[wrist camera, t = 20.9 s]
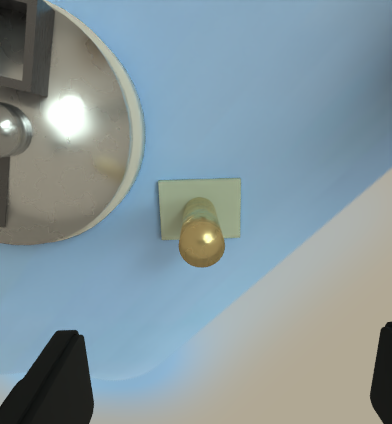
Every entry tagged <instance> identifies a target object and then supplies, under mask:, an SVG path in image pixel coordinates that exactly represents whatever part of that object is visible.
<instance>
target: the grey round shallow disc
mask: <svg viewBox="0 0 392 424" xmlns="http://www.w3.org/2000/svg"><path fill="white" fill-rule="evenodd" d="M132 147H133V125H132V118H131V112H130V107H129V104H128V100H127V97H126V93H125V91H124V89H123V86H122V84H121V82H120V79H119V77H118V75H117V74H116V72H115V70H114V68H113V67H112V65H111V63H110V62H109V60H108V59H107V58H106V56H105V55H104V53H103V52H102V51H101V49H100V48H99V47H98V46H97V45H96V44H95V43H94V42H93V41H92V40H91V39H90V38H89V36H88V35H87V34H86V33H85V32H84V31H83V30H82V29H80V28H79V27H78V26H77V25H76V24H75V23H73V22H72V21H71V20H70V19H69V18H67V17H66V16H65V15H63V14H62V13H60V12H59V11H57V10H56V9H54V8H53V7H51V6H49V5H48V4H47V3H46V2H45V1H43V0H0V243H4V244H11V245H35V244H44V243H48V242H52V241H56V240H59V239H62V238H64V237H67V236H69V235H72V234H73V233H75V232H77V231H79V230H81V229H82V228H84V227H85V226H86V225H88V224H89V223H90V222H92V221H93V220H94V219H95V218H97V217H98V216H99V215H100V214H101V213H102V212H103V211H104V210H105V209H106V208H107V207H108V206H109V205H110V203H111V202H112V201H113V199H114V198H115V197H116V195H117V194H118V192H119V190H120V188H121V186H122V184H123V182H124V180H125V177H126V175H127V172H128V169H129V165H130V161H131V156H132Z"/></svg>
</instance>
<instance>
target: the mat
mask: <svg viewBox="0 0 392 424" xmlns="http://www.w3.org/2000/svg"><path fill="white" fill-rule="evenodd" d="M158 187H159V204H160V220H161V237H162V240H179V239H180V233H181V226H182V219H183V212H184V208H185V205H186V204H187V203H188V202H189V201H190V200H191V199H193V198H197V197H203V198H206V199H208V200H210V201H211V202H212V203H213V205H214V207H215V210H216V213H217V217H218V220H219V224H220V228H221V231H222V235H223V238H240V203H241V179H240V178H219V179H186V180H159V181H158Z"/></svg>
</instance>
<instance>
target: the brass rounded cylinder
mask: <svg viewBox="0 0 392 424" xmlns="http://www.w3.org/2000/svg"><path fill="white" fill-rule="evenodd" d="M224 250H225V242H224V238H223V235H222V231H221V228H220V224H219V220H218V217H217V213H216V210H215V207H214V205H213V203H212V202H211V201H210V200H208V199H206V198H203V197H197V198H193V199H191V200H190V201H189V202H188V203H187V204H186V205H185V208H184V212H183V219H182V226H181V233H180V240H179V251H180V254H181V256H182V258H183V259H184V260H185V261H186V262H187V263H188V264H190V265H192V266H195V267H208V266H211V265H213V264H215V263H216V262H218V261H219V260H220V258H221V257H222V255H223V253H224Z"/></svg>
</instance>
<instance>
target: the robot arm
mask: <svg viewBox="0 0 392 424" xmlns="http://www.w3.org/2000/svg"><path fill="white" fill-rule="evenodd" d="M370 399H371V403H372V406H373V408H374V410H375V411H376V413H377V414H378V416H379V417H380V419H381V420H382V422H383V423H384V424H392V322H387V324H386V325H385V327H383V328H382V329H381V332H380V338H379V344H378V350H377V356H376V362H375V368H374V374H373V380H372V386H371V392H370ZM93 408H94V401H93V394H92V387H91V380H90V374H89V367H88V361H87V354H86V348H85V341H84V336H83V335H79V334H78V331H77V330H60V331H56V332H55V334H54V335H53V336H52V338H51V339H50V341H49V342H48V344H47V345H46V346H45V348H44V349H43V351H42V352H41V354H40V355H39V357H38V358H37V359H36V361H35V362H34V364H33V365H32V367H31V368H30V369H29V371H28V372H27V374H26V375H25V377H24V378H23V379H22V380H20V381H19V382H18V383H17V384H16V385H15V386H14V388H13V389H12V391H11V392H10V393H9V395H8V396H7V398H6V399H5V400H4V402H3V403H2V405H1V406H0V424H89V422H90V420H91V417H92V414H93Z"/></svg>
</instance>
